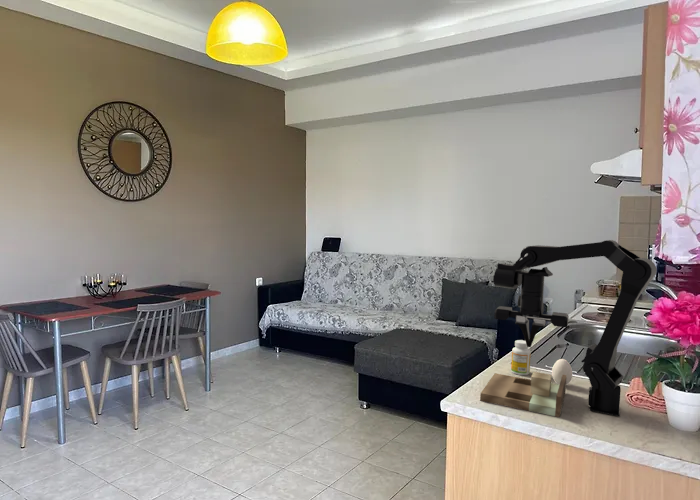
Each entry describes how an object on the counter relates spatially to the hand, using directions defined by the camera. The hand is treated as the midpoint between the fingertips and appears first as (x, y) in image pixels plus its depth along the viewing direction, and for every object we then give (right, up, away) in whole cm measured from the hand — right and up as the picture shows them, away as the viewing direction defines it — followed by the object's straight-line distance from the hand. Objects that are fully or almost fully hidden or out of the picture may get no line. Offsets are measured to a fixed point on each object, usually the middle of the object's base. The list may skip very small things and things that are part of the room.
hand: (529, 346), depth 131 cm
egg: (+11, -12, +5) cm, 17 cm away
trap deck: (-3, -12, -5) cm, 14 cm away
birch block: (0, -11, -7) cm, 13 cm away
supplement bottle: (+3, -11, +15) cm, 19 cm away
